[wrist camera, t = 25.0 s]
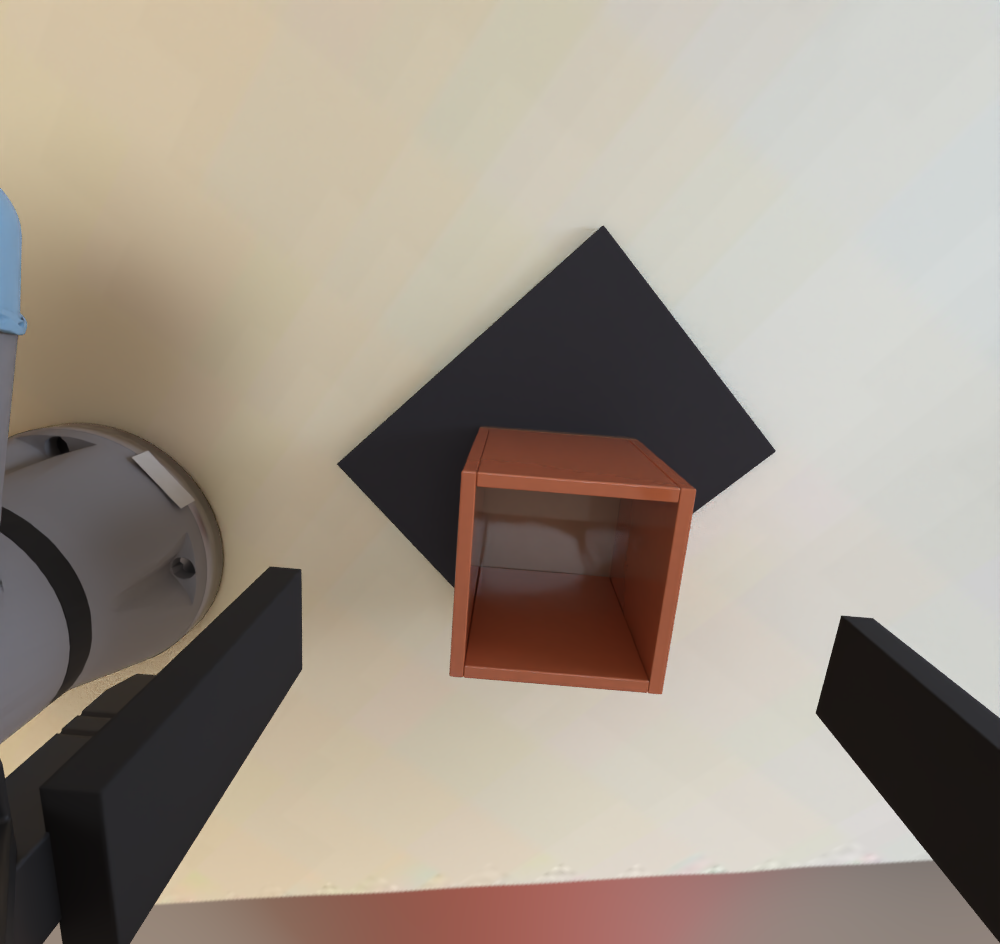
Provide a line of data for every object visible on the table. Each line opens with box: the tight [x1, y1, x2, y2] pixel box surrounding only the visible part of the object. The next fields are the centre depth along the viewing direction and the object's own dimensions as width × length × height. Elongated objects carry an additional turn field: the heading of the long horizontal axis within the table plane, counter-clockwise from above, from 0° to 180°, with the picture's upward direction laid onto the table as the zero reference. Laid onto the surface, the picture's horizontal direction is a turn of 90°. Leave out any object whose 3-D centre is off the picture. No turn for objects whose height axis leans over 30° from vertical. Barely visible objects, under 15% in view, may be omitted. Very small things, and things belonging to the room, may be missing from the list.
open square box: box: [449, 425, 696, 694], centre depth 27 cm, size 11×9×9 cm
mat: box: [337, 226, 775, 588], centre depth 32 cm, size 20×16×1 cm
